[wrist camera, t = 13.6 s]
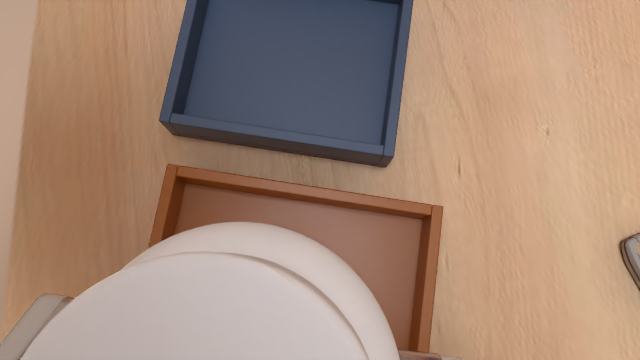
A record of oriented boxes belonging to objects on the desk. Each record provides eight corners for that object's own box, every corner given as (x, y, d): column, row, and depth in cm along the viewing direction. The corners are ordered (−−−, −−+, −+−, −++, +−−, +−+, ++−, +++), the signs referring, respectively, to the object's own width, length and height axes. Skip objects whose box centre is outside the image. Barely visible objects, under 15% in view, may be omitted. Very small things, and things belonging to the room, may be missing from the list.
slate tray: (172, 134, 28) (158, 120, 25) (208, -27, 30) (199, -55, 27) (386, 167, 27) (393, 157, 25) (407, 3, 30) (416, -22, 27)
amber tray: (124, 427, 24) (102, 446, 22) (180, 173, 27) (166, 163, 25) (403, 472, 24) (414, 496, 22) (431, 212, 27) (443, 206, 24)
